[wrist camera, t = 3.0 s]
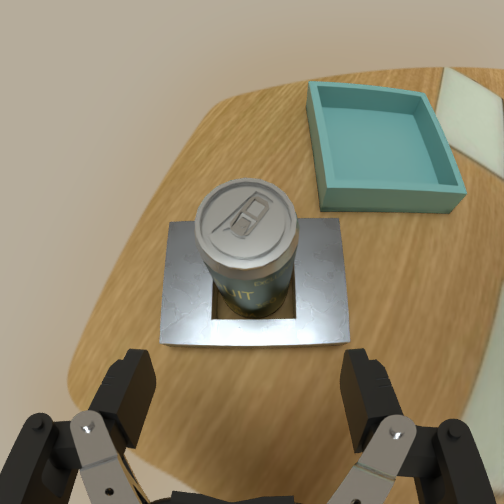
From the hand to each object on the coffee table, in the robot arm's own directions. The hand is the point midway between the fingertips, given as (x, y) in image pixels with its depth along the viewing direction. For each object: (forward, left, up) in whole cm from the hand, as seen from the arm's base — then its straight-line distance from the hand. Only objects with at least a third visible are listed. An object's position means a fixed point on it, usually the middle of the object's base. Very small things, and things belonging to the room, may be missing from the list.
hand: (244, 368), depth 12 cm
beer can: (0, -7, -13) cm, 15 cm away
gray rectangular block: (0, -7, -13) cm, 14 cm away
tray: (-13, -21, -13) cm, 28 cm away
